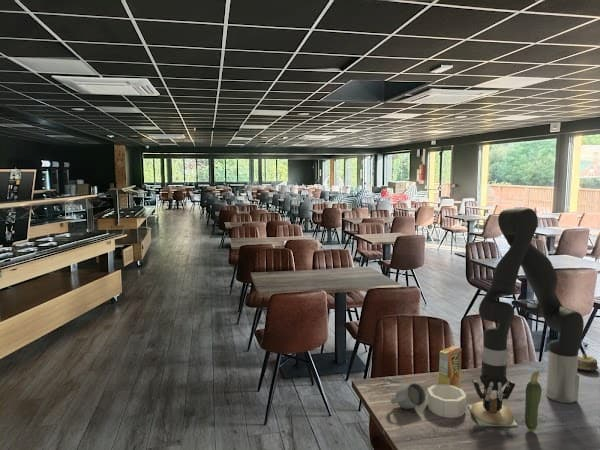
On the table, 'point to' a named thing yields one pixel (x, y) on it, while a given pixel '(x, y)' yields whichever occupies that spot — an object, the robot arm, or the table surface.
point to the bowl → (446, 400)
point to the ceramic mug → (410, 396)
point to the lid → (492, 413)
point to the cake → (587, 363)
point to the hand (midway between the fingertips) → (492, 409)
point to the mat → (494, 425)
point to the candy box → (450, 366)
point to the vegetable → (532, 402)
